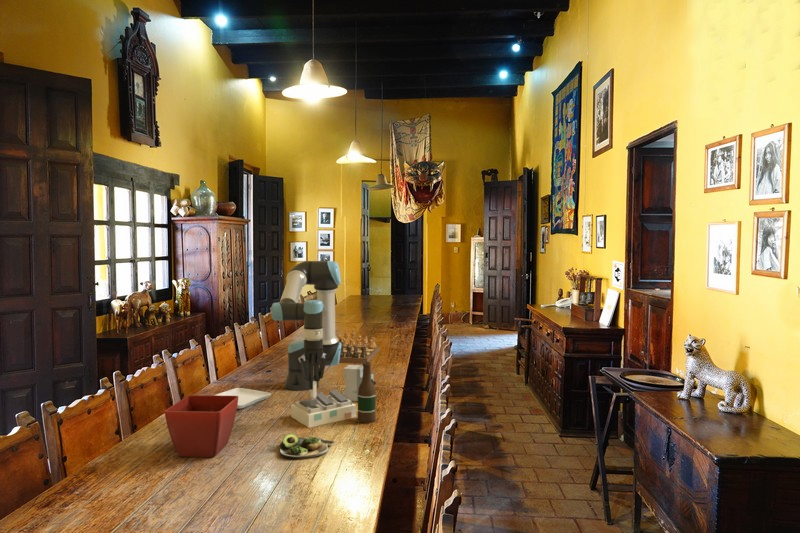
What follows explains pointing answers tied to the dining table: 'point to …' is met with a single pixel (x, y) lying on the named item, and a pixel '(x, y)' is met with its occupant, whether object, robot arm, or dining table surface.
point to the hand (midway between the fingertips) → (313, 396)
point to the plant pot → (201, 424)
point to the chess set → (357, 349)
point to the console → (322, 412)
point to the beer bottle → (366, 397)
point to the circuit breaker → (353, 381)
